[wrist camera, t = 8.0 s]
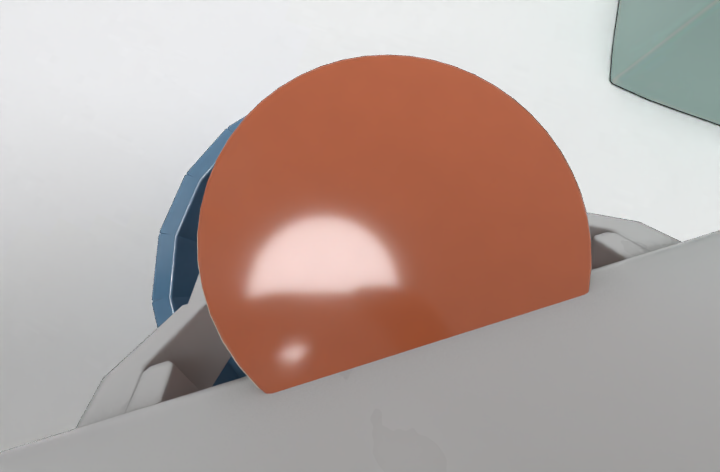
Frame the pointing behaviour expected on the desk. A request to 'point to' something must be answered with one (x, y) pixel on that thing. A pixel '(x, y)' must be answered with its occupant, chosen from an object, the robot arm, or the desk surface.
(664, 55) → the planter
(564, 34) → the desk surface
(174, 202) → the bowl
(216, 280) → the canister
